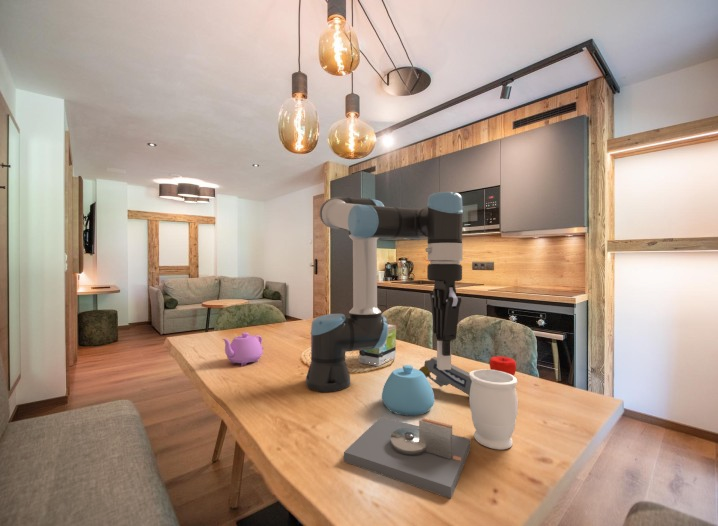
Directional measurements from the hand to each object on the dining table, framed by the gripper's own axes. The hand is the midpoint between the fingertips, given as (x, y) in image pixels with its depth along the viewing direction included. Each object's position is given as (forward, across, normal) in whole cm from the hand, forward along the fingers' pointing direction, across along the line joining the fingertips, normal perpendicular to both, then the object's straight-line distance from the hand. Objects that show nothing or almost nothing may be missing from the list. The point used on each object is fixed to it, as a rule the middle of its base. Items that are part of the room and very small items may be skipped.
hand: (443, 368), depth 73 cm
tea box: (+19, -67, -4) cm, 70 cm away
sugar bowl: (+18, -22, -2) cm, 29 cm away
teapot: (+19, -70, -60) cm, 94 cm away
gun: (+18, -31, +14) cm, 39 cm away
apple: (+18, -39, +36) cm, 56 cm away
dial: (+15, +3, -6) cm, 17 cm away
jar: (+18, -2, +13) cm, 22 cm away
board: (+18, +2, -8) cm, 20 cm away
